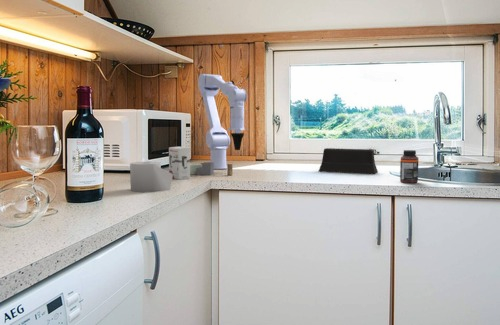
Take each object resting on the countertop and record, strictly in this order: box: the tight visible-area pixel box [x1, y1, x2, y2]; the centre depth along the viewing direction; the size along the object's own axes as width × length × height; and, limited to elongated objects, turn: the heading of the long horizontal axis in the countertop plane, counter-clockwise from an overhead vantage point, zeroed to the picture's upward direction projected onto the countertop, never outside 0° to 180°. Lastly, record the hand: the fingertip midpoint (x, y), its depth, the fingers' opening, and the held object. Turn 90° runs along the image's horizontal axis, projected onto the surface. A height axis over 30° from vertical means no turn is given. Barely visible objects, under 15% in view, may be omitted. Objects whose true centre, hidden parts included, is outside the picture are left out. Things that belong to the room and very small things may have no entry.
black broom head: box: [318, 147, 379, 175], centre depth 181 cm, size 24×9×10 cm, turn 64°
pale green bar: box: [190, 163, 202, 175], centre depth 175 cm, size 10×2×4 cm, turn 127°
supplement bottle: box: [399, 149, 419, 184], centre depth 150 cm, size 6×6×11 cm
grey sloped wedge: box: [129, 161, 173, 193], centre depth 136 cm, size 9×13×9 cm
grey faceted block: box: [195, 161, 215, 176], centre depth 173 cm, size 4×6×5 cm, turn 78°
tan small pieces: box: [200, 162, 233, 177], centre depth 176 cm, size 18×1×4 cm, turn 46°
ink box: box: [168, 146, 191, 180], centre depth 163 cm, size 9×5×12 cm, turn 37°
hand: (237, 149), depth 181 cm, fingers closed
